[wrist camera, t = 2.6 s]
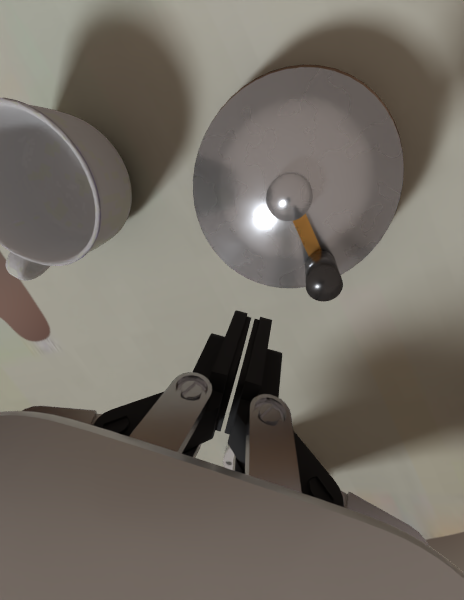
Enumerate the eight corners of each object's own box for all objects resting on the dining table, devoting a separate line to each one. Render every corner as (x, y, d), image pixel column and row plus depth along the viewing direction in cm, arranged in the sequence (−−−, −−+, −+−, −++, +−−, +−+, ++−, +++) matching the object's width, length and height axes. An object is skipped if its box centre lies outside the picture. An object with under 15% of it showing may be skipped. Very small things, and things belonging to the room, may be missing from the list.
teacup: (70, 81, 23) (-32, 48, 16) (172, 181, 24) (121, 191, 18) (17, 209, 29) (-72, 225, 22) (100, 280, 31) (43, 317, 24)
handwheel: (421, 235, 20) (459, 260, 15) (250, 303, 26) (239, 337, 21) (354, 14, 16) (377, -47, 11) (165, 152, 21) (126, 151, 16)
